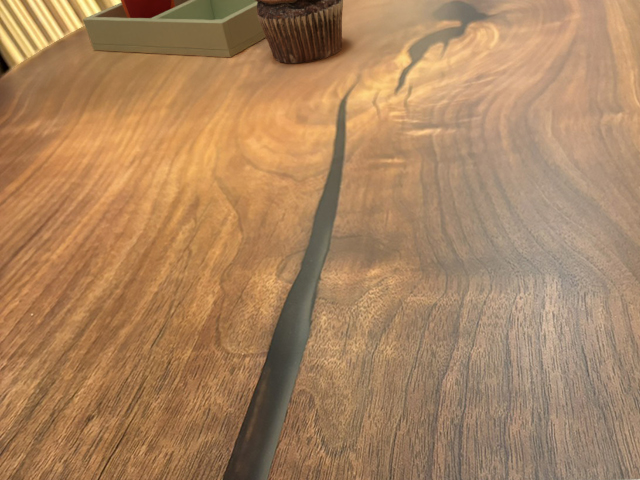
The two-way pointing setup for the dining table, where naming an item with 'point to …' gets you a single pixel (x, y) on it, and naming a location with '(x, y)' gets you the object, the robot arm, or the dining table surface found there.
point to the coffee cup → (146, 7)
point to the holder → (179, 29)
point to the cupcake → (301, 28)
